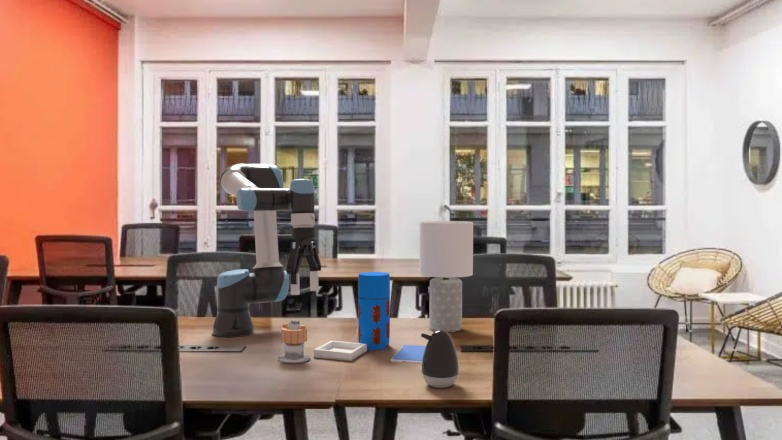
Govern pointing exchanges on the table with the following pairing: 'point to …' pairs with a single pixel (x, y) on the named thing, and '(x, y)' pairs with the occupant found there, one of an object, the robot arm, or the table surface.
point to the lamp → (446, 269)
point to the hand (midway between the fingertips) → (305, 292)
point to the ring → (293, 335)
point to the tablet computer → (409, 354)
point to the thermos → (374, 309)
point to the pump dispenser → (439, 360)
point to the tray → (340, 350)
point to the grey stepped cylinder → (294, 349)
